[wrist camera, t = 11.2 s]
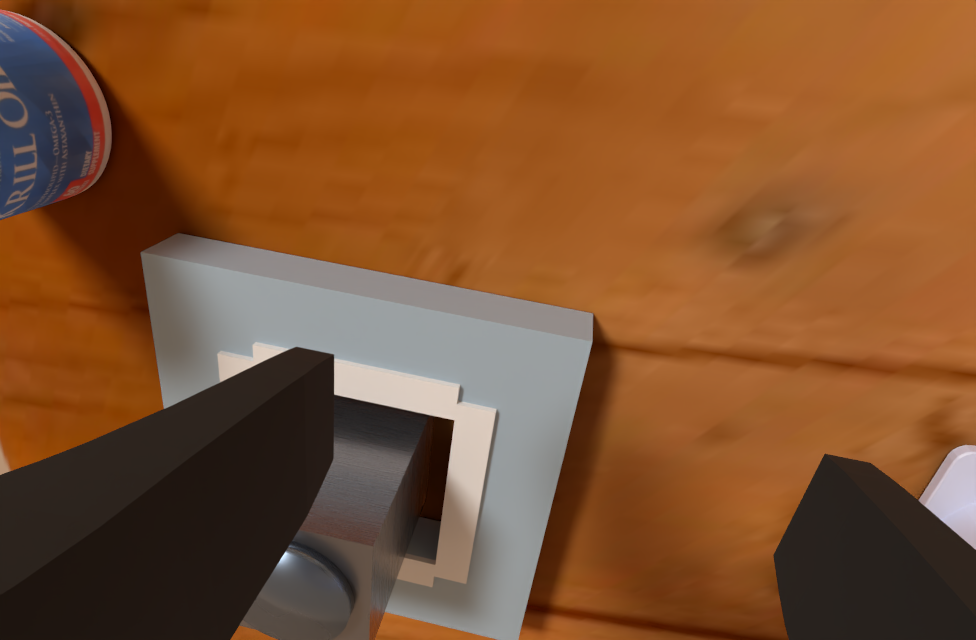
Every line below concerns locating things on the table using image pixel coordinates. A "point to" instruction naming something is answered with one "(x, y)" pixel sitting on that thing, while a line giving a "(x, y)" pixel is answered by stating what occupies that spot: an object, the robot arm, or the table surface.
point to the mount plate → (400, 395)
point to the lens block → (351, 529)
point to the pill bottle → (46, 118)
